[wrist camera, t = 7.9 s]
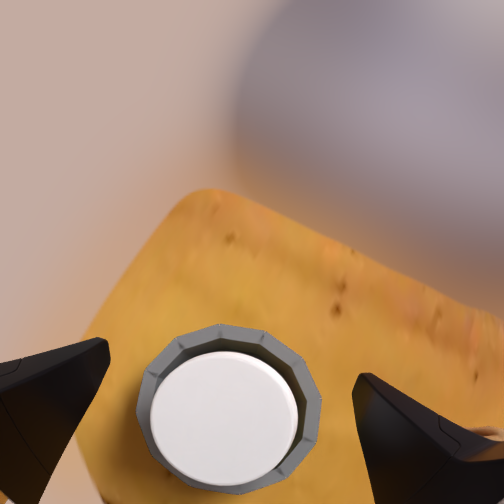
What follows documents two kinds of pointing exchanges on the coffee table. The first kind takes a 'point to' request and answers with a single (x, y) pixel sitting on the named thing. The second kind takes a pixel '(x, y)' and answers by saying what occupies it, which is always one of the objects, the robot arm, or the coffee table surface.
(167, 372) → the grey faceted bowl
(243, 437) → the supplement bottle
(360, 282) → the coffee table surface
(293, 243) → the coffee table surface
